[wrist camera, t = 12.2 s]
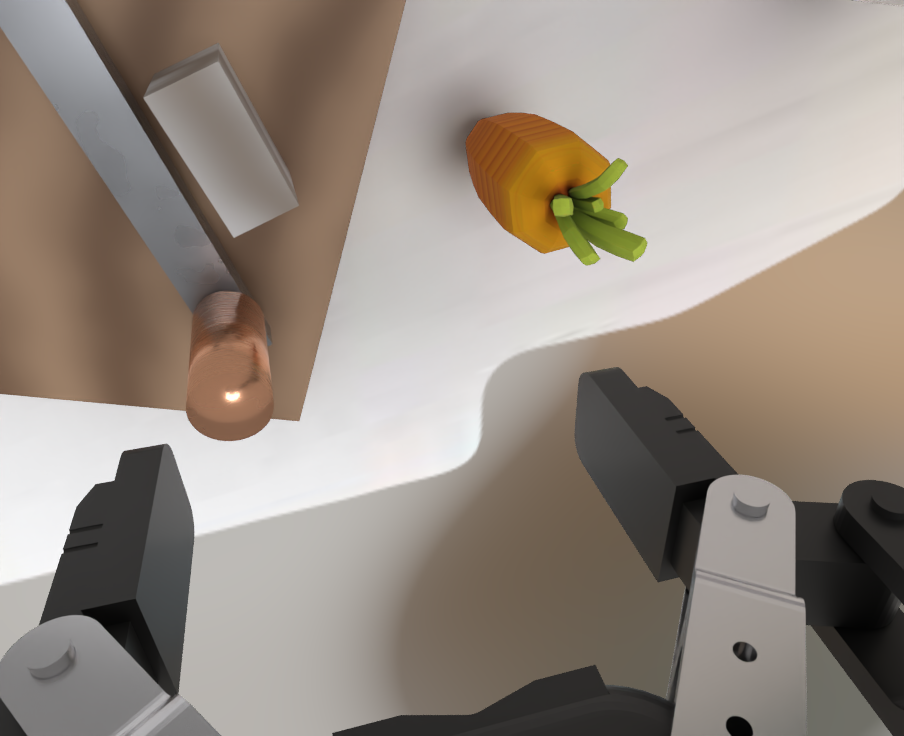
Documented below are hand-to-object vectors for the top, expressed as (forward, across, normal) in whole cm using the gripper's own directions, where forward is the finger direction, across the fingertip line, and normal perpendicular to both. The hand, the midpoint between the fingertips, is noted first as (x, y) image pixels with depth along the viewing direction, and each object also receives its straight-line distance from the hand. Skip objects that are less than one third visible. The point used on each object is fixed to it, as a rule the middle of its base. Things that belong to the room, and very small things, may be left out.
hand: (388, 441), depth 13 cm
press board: (+24, +8, 0) cm, 25 cm away
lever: (+22, +8, -2) cm, 23 cm away
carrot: (+25, -9, 0) cm, 27 cm away
